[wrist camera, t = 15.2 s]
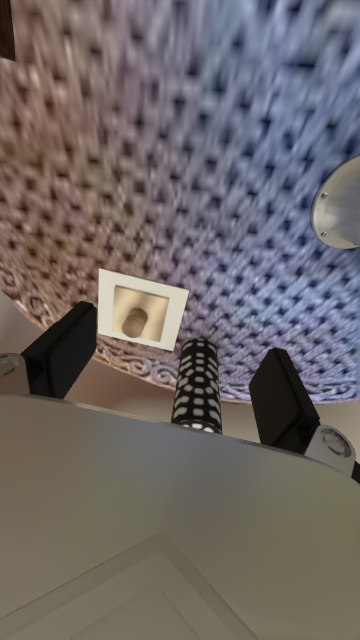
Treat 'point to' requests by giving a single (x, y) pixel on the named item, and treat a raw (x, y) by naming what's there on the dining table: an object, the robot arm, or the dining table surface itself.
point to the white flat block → (174, 293)
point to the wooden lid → (138, 313)
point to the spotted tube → (198, 388)
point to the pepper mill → (6, 31)
